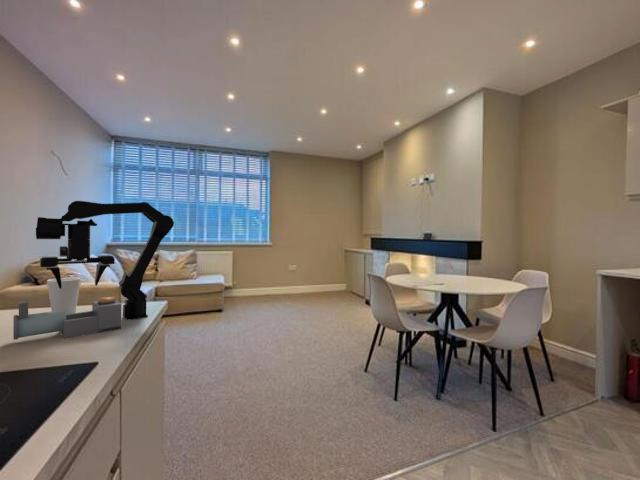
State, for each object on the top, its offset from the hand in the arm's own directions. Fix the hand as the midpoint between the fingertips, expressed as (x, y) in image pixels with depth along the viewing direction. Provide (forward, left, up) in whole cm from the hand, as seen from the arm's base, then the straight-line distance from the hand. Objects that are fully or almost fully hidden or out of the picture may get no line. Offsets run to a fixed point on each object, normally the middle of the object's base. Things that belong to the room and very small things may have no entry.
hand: (78, 286), depth 99 cm
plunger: (-6, +9, -7) cm, 13 cm away
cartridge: (+10, +9, -11) cm, 17 cm away
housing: (-1, +9, -12) cm, 15 cm away
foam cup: (+2, -18, -13) cm, 22 cm away
